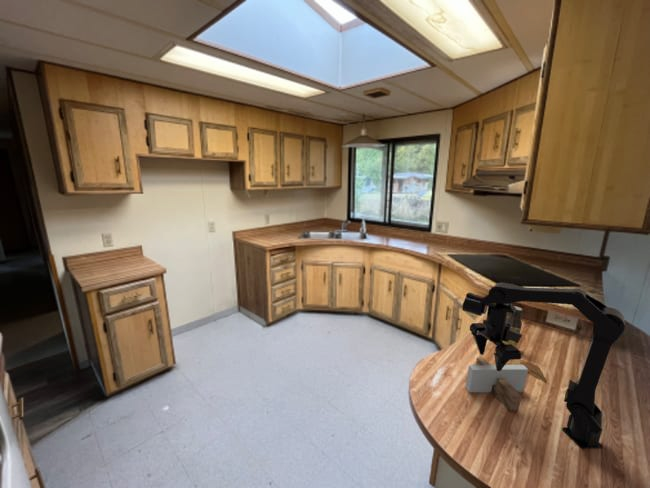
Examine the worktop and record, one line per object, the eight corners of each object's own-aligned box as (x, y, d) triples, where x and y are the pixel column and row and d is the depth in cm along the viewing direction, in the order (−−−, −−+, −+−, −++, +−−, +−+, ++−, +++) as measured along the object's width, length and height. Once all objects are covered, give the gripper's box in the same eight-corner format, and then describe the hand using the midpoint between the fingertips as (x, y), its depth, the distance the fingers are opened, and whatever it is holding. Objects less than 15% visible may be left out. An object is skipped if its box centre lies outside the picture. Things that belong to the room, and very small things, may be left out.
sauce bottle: (499, 350, 125) (507, 308, 121) (498, 343, 130) (506, 303, 126) (517, 354, 122) (525, 312, 118) (515, 347, 128) (523, 306, 123)
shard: (546, 384, 105) (547, 380, 104) (522, 378, 107) (523, 374, 107) (536, 367, 115) (537, 363, 114) (514, 362, 117) (515, 358, 117)
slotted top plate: (469, 392, 99) (472, 369, 97) (465, 387, 101) (468, 365, 99) (523, 391, 100) (528, 369, 98) (518, 386, 102) (523, 364, 100)
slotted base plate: (517, 411, 91) (521, 395, 90) (510, 411, 91) (513, 395, 89) (481, 371, 110) (483, 357, 109) (474, 371, 110) (477, 357, 109)
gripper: (542, 334, 85) (533, 380, 88) (500, 308, 103) (494, 346, 107) (507, 335, 84) (499, 380, 88) (471, 308, 103) (466, 347, 106)
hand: (489, 362), depth 97 cm, fingers open, 9 cm apart
